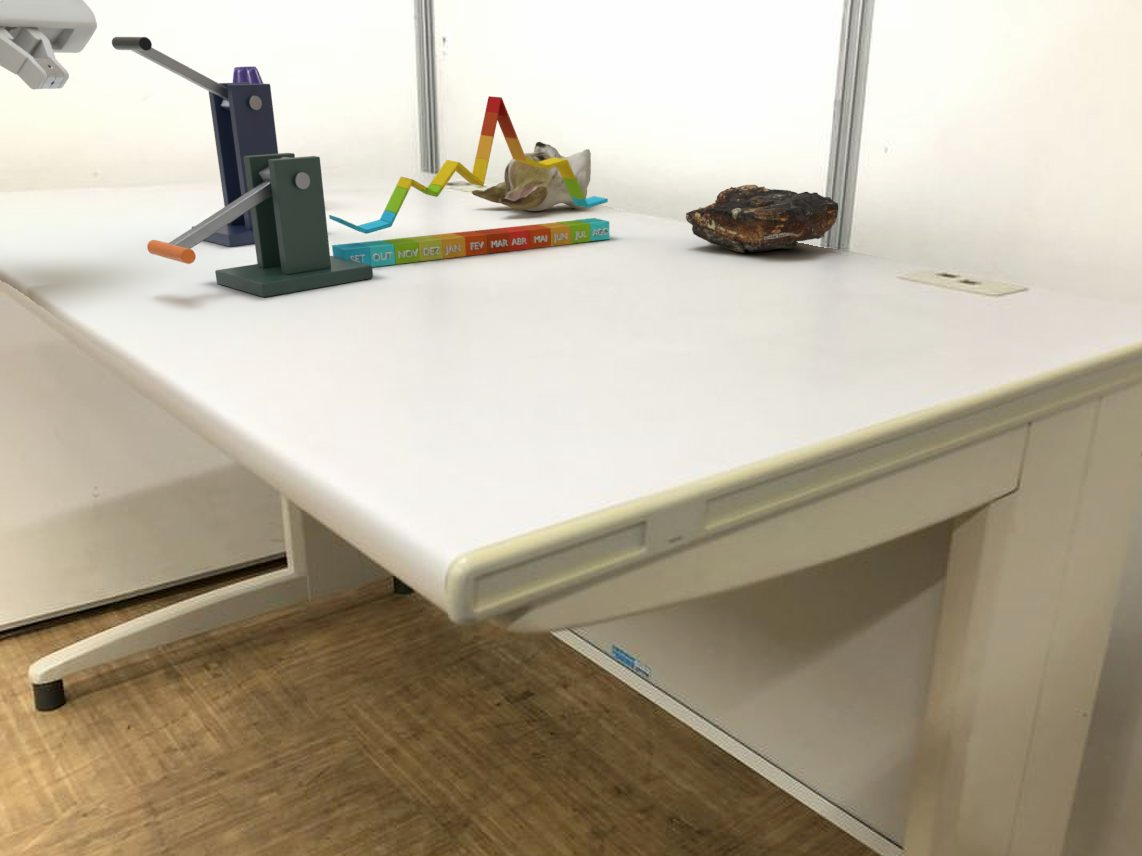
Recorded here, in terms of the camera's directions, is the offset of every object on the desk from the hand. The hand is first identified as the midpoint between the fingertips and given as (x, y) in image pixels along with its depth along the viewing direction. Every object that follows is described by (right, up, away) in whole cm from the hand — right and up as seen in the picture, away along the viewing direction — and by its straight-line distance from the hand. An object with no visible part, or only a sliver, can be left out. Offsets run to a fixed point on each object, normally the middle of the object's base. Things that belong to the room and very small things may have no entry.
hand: (52, 83), depth 84 cm
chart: (+30, -8, +25) cm, 40 cm away
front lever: (+13, -10, +6) cm, 17 cm away
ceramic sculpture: (+34, +3, +52) cm, 62 cm away
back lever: (+1, +8, +23) cm, 25 cm away
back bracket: (+4, -5, +33) cm, 34 cm away
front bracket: (+16, -14, +11) cm, 24 cm away
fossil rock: (+59, -7, +29) cm, 66 cm away
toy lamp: (-7, +9, +66) cm, 67 cm away
